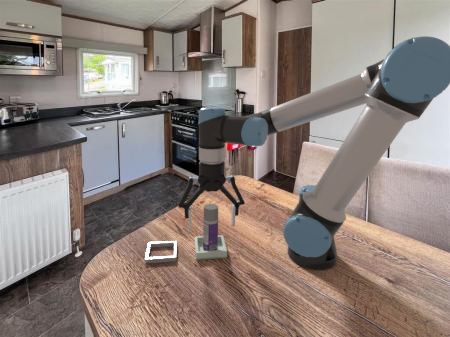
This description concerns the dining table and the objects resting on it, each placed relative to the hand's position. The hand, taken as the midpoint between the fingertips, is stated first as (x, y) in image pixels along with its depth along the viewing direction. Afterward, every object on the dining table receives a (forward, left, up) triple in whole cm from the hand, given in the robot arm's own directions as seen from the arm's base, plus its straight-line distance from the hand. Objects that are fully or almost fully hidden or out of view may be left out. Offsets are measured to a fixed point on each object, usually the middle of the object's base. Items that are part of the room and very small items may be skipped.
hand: (211, 225), depth 89 cm
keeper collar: (+14, +6, -9) cm, 18 cm away
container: (0, 0, -9) cm, 9 cm away
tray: (0, 0, -9) cm, 9 cm away
